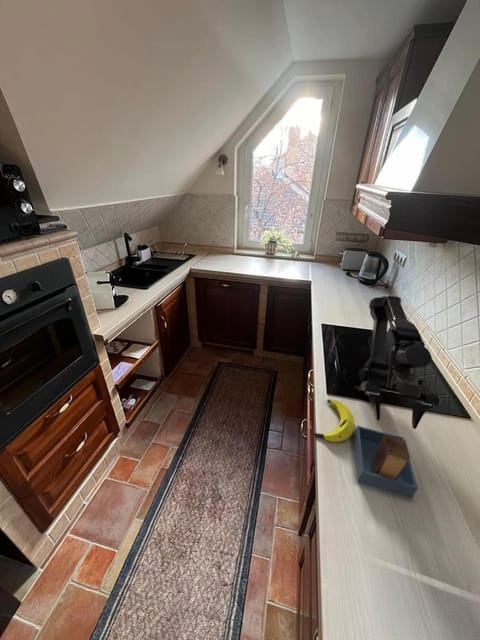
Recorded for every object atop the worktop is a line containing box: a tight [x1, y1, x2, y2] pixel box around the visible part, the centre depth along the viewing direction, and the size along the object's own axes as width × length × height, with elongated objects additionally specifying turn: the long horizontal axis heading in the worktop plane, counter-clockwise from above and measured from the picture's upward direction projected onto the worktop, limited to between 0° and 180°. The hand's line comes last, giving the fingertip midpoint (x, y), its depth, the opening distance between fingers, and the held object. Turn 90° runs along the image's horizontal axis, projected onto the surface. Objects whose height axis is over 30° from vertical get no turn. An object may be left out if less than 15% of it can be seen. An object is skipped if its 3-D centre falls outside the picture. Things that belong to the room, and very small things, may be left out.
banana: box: [312, 399, 356, 443], centre depth 86 cm, size 5×17×15 cm
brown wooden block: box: [371, 435, 411, 480], centre depth 68 cm, size 5×5×13 cm
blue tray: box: [352, 425, 419, 499], centre depth 73 cm, size 15×13×5 cm
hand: (395, 424), depth 70 cm, fingers open, 9 cm apart
